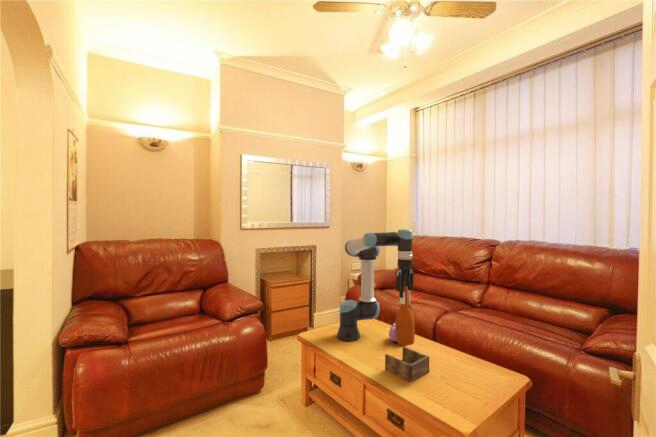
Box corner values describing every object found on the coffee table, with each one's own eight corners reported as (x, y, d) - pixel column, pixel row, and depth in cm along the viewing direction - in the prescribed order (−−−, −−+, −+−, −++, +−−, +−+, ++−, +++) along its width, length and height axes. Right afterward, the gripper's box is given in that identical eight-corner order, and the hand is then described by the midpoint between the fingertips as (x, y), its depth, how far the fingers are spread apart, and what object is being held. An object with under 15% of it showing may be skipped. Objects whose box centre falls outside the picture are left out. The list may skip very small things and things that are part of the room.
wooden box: (385, 369, 165) (385, 354, 164) (403, 360, 175) (403, 346, 175) (410, 382, 152) (410, 366, 152) (429, 372, 162) (429, 356, 162)
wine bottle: (415, 347, 160) (414, 288, 159) (395, 345, 161) (395, 287, 161) (414, 339, 169) (413, 284, 169) (395, 338, 171) (394, 283, 171)
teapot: (401, 333, 214) (401, 315, 214) (419, 340, 203) (419, 320, 203) (382, 341, 201) (382, 322, 201) (400, 348, 190) (400, 328, 190)
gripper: (400, 261, 157) (400, 307, 157) (420, 257, 167) (420, 301, 168) (388, 259, 162) (389, 304, 163) (408, 256, 173) (408, 298, 173)
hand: (405, 302), depth 165 cm, fingers closed on wine bottle, 4 cm apart
